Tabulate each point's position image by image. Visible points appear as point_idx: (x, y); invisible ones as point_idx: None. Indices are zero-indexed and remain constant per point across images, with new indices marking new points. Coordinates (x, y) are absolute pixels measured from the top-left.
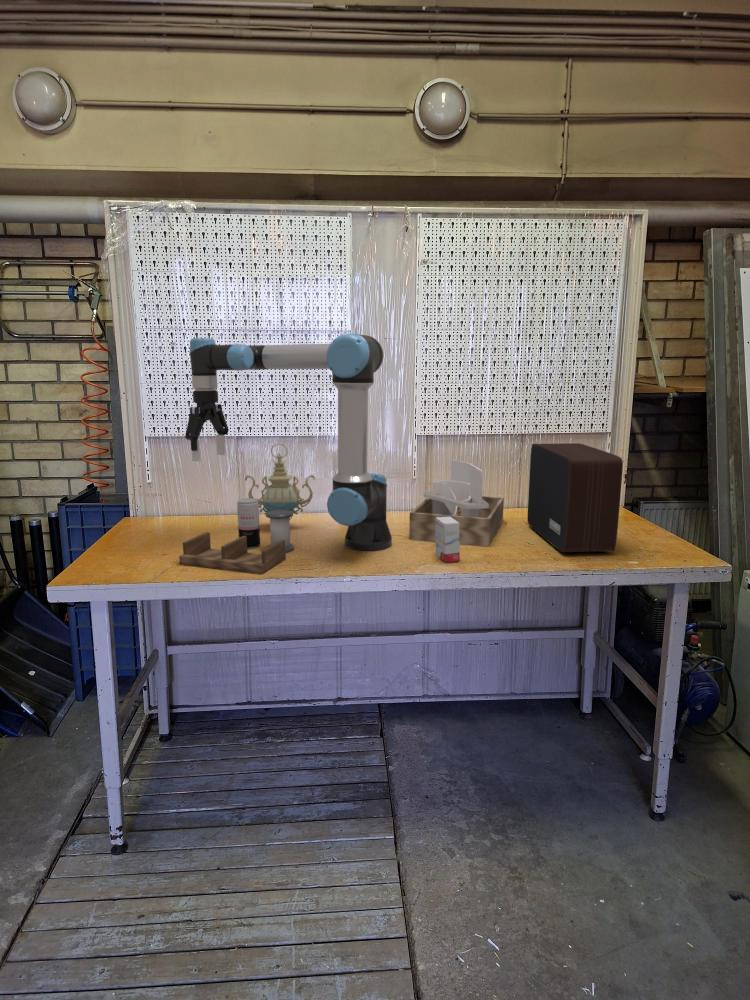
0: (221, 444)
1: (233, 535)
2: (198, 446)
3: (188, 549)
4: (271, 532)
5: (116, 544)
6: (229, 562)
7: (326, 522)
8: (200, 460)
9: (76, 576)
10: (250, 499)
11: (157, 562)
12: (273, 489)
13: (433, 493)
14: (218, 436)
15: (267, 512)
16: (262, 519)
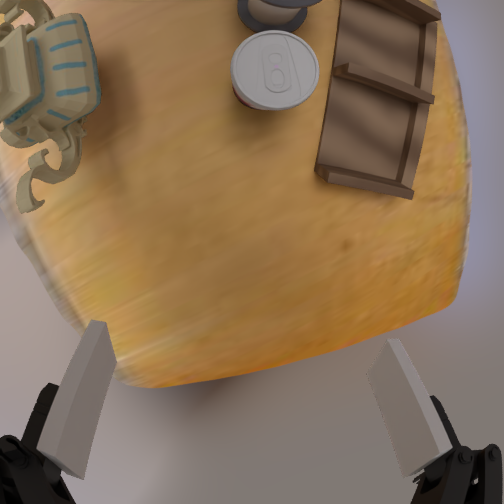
0: (85, 397)
1: (175, 167)
2: (435, 413)
3: (400, 184)
4: (299, 8)
5: (291, 346)
6: (431, 83)
7: None
8: (395, 342)
9: (433, 303)
10: (249, 65)
11: (390, 233)
12: (52, 78)
13: None
14: (76, 462)
15: (291, 2)
16: None
